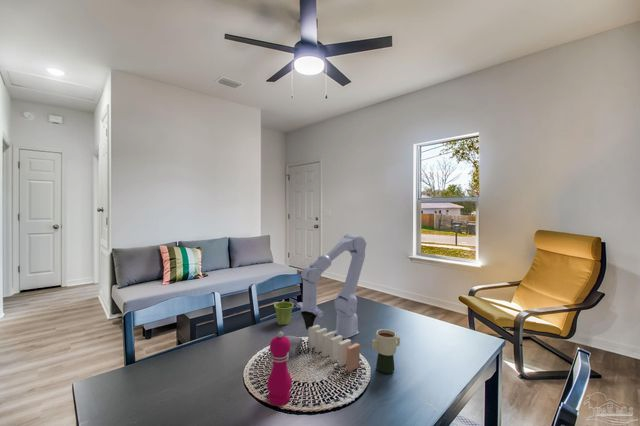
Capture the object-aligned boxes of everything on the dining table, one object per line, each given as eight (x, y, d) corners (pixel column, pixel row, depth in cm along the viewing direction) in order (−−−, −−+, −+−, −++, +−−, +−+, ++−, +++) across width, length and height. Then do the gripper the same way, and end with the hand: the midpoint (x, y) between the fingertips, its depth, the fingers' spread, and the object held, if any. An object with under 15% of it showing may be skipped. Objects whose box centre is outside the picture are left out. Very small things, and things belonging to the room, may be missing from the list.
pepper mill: (267, 391, 91) (269, 326, 90) (291, 390, 91) (292, 326, 91) (265, 407, 84) (266, 337, 83) (291, 406, 84) (292, 337, 84)
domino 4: (339, 355, 113) (339, 334, 113) (342, 357, 112) (342, 336, 112) (329, 360, 110) (330, 338, 110) (332, 361, 109) (333, 340, 108)
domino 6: (355, 364, 107) (356, 342, 107) (359, 366, 106) (359, 344, 105) (346, 369, 104) (346, 347, 103) (349, 371, 102) (350, 348, 102)
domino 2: (324, 347, 119) (324, 327, 119) (326, 348, 118) (327, 329, 118) (314, 351, 116) (315, 331, 116) (317, 352, 115) (317, 332, 115)
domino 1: (317, 343, 122) (317, 324, 122) (319, 345, 121) (320, 325, 121) (307, 347, 119) (308, 327, 119) (310, 348, 118) (310, 328, 118)
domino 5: (347, 360, 110) (347, 338, 110) (350, 361, 109) (350, 340, 109) (337, 364, 107) (338, 342, 106) (340, 366, 105) (341, 344, 105)
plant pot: (297, 321, 144) (297, 304, 144) (284, 328, 136) (285, 309, 136) (282, 317, 149) (282, 300, 149) (269, 323, 141) (269, 305, 141)
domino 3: (331, 351, 116) (331, 331, 116) (334, 352, 115) (334, 332, 115) (321, 355, 113) (322, 334, 113) (324, 357, 112) (325, 336, 111)
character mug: (393, 362, 109) (394, 327, 109) (404, 373, 102) (405, 335, 102) (366, 366, 106) (367, 330, 105) (376, 378, 99) (377, 339, 99)
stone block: (271, 361, 112) (296, 358, 110) (269, 348, 112) (294, 345, 110) (281, 347, 124) (304, 345, 122) (279, 335, 124) (302, 333, 122)
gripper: (291, 293, 125) (290, 325, 125) (313, 303, 114) (313, 337, 114) (304, 290, 129) (303, 321, 130) (327, 299, 119) (326, 332, 119)
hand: (309, 329), depth 122 cm, fingers closed
